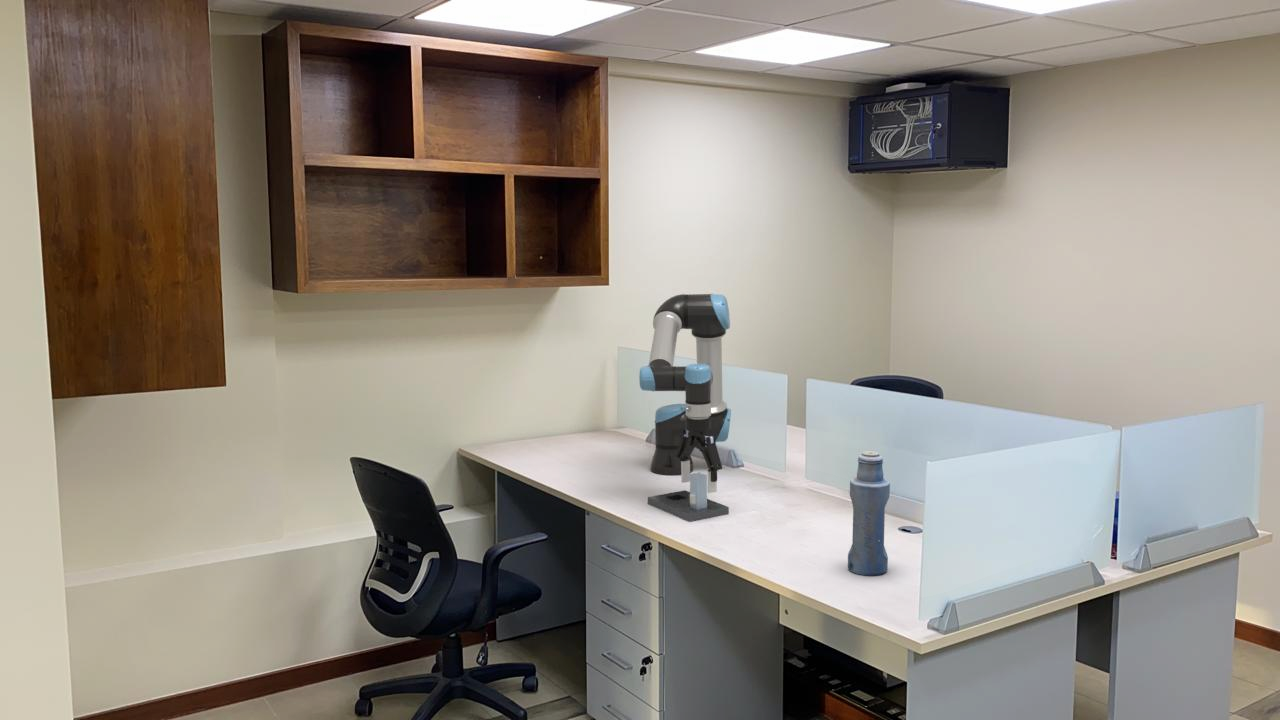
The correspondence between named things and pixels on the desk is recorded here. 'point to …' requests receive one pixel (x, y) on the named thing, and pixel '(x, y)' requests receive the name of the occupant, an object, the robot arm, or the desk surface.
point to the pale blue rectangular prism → (698, 491)
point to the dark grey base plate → (686, 506)
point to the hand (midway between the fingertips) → (698, 487)
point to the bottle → (868, 516)
